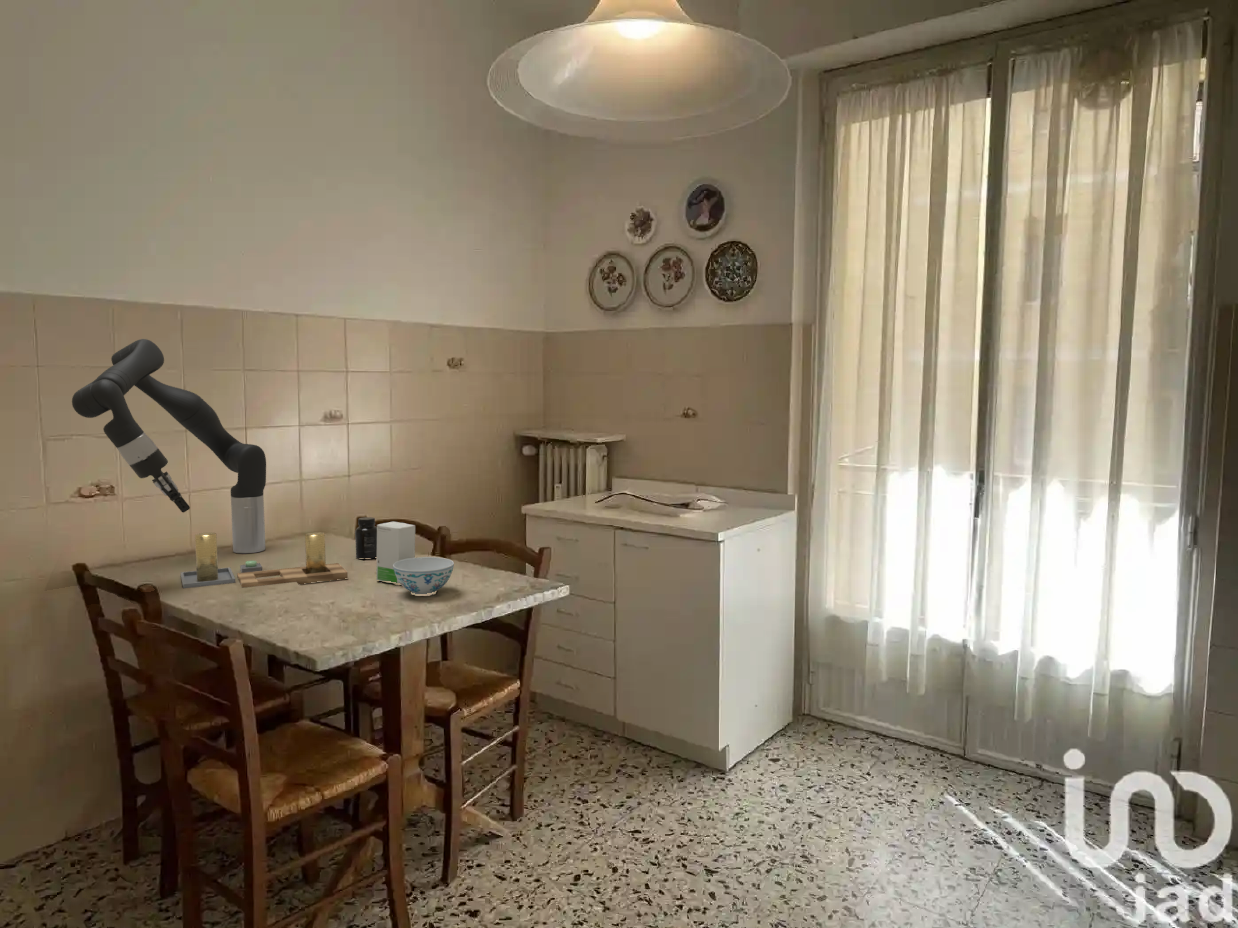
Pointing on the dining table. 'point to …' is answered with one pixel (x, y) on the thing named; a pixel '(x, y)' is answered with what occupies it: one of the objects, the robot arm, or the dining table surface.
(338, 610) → the dining table surface
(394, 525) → the skincare box
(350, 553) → the dining table surface
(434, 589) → the chinaware
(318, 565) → the seated billet
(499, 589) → the dining table surface
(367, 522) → the supplement bottle
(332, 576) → the pallet
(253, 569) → the button housing
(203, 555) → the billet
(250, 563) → the button
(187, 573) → the grey tray
